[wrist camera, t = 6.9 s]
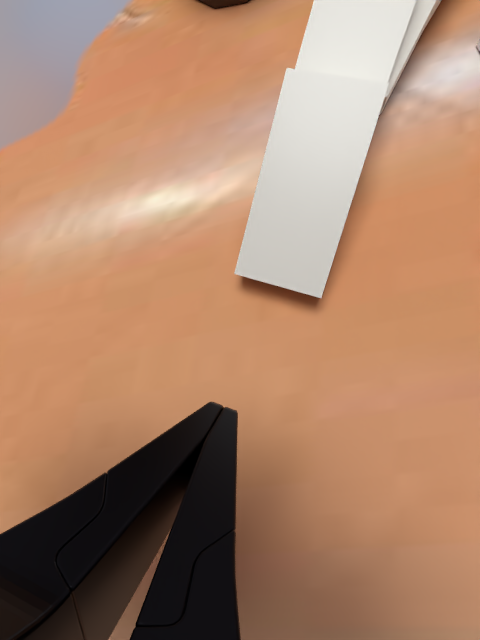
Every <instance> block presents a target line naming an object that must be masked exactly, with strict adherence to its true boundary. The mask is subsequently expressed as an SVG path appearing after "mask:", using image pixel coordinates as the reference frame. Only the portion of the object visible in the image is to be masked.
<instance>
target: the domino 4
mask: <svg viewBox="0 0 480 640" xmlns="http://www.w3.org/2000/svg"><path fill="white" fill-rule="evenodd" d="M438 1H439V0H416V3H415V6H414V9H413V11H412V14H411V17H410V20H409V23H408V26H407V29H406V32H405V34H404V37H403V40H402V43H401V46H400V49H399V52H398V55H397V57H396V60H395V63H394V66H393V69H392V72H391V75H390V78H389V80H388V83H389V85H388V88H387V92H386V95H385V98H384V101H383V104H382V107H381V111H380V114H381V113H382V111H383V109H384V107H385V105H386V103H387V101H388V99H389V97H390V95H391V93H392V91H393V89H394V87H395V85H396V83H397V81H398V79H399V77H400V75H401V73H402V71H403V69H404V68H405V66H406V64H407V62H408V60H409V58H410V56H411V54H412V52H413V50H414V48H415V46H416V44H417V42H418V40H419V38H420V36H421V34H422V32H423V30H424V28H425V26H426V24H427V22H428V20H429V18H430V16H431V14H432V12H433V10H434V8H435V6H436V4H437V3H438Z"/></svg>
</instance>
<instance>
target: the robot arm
mask: <svg viewBox="0 0 480 640" xmlns="http://www.w3.org/2000/svg"><path fill="white" fill-rule="evenodd" d="M237 424H238V413H237V411H236V410H233V409H230V408H228V407H223V406H222V405H220V404H217V403H214V402H209V403H207V404H206V405H204V406H203V407H201V408H200V409H199V410H197V411H196V412H194V413H193V414H191V415H190V416H188V417H187V418H185V419H184V420H182V421H181V422H179V423H178V424H176V425H175V426H173V427H172V428H170V429H169V430H167V431H166V432H164V433H163V434H161V435H160V436H158V437H157V438H156V439H154V440H153V441H151V442H150V443H148V444H147V445H145V446H144V447H142V448H141V449H139V450H138V451H136V452H135V453H133V454H132V455H130V456H129V457H127V458H126V459H124V460H123V461H121V462H120V463H118V464H117V465H115V466H114V467H113V468H111V469H110V470H108V472H107V473H103V474H102V475H100V476H99V477H97V478H96V479H95V480H93V481H92V482H90V483H88V484H87V485H85V486H84V487H82V488H81V489H79V490H78V491H76V492H74V493H73V494H71V495H70V496H68V497H66V498H64V499H63V500H61V501H59V502H57V503H56V504H54V505H52V506H50V507H49V508H47V509H45V510H43V511H42V512H40V513H38V514H36V515H34V516H33V517H31V518H29V519H27V520H25V521H23V522H22V523H20V524H18V525H16V526H14V527H12V528H11V529H9V530H7V531H5V532H3V533H2V534H0V640H108V639H109V637H110V635H111V633H112V632H113V630H114V628H115V626H116V625H117V623H118V621H119V619H120V617H121V616H122V614H123V612H124V610H125V609H126V607H127V605H128V603H129V602H130V600H131V598H132V596H133V594H134V593H135V591H136V589H137V587H138V586H139V584H140V582H141V580H142V579H143V577H144V575H145V573H146V572H147V570H148V568H149V566H150V564H151V563H152V561H153V559H154V557H155V556H156V554H157V552H158V550H159V549H160V547H161V545H162V543H163V541H164V540H165V538H166V536H167V534H168V533H169V531H170V529H171V531H170V534H169V536H168V539H167V542H166V544H165V547H164V550H163V552H162V555H161V558H160V560H159V563H158V566H157V568H156V571H155V574H154V576H153V579H152V582H151V584H150V587H149V590H148V592H147V595H146V598H145V600H144V603H143V606H142V608H141V611H140V614H139V616H138V619H137V622H136V628H134V630H133V633H132V635H131V638H130V640H241V638H240V627H239V616H238V605H237V591H236V574H235V536H236V533H235V528H236V476H237ZM171 527H172V528H171Z"/></svg>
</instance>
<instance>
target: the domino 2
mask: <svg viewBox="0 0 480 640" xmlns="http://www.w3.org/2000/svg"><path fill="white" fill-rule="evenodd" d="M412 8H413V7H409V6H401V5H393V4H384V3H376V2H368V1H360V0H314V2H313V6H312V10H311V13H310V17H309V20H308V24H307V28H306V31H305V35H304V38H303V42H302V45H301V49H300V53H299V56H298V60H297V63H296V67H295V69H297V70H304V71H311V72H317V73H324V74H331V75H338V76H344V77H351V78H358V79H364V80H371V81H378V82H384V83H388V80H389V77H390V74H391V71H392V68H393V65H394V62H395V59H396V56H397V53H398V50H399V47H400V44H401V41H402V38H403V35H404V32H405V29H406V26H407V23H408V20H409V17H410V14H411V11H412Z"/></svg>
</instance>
